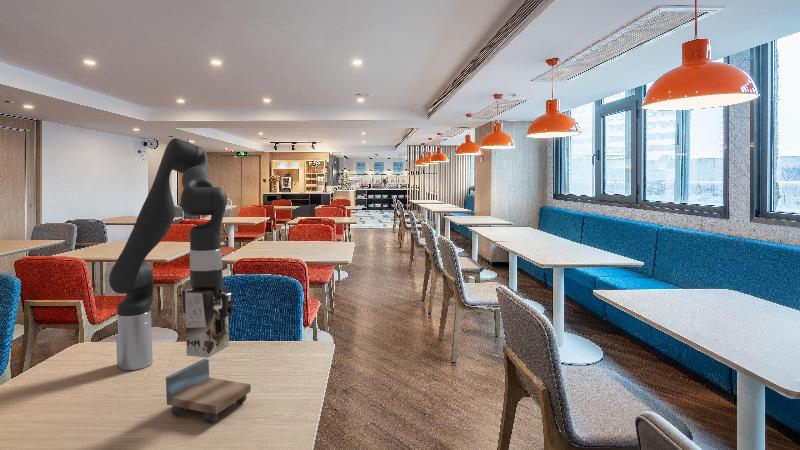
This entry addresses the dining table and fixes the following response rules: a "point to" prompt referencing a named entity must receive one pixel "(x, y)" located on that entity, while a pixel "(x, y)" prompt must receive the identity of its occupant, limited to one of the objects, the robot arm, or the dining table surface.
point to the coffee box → (203, 323)
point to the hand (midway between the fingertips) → (208, 331)
